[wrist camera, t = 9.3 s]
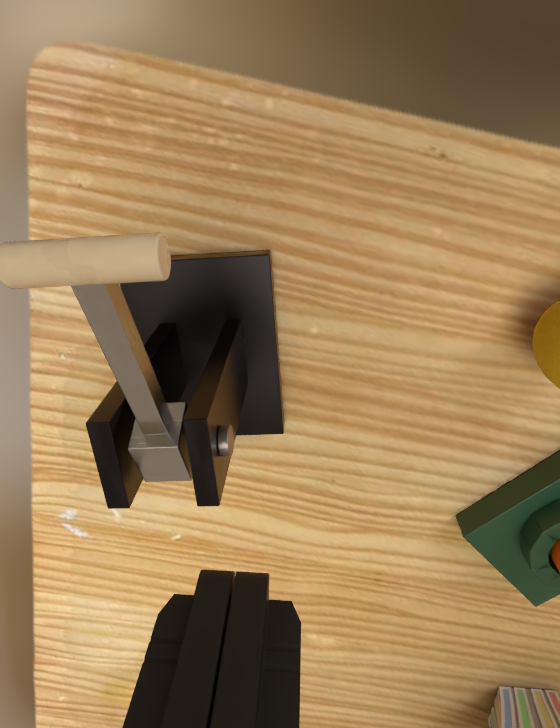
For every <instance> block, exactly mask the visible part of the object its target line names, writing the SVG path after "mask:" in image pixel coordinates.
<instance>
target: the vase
mask: <svg viewBox="0 0 560 728" xmlns="http://www.w3.org/2000/svg"><path fill="white" fill-rule="evenodd" d="M488 723H489V727H490V728H560V698H559V696H558V694H557V692H556V690H542V689H532V688H530V689H525V688H519V687H513V688H511V687H505V686H499V689H498V692H497V695H496V697H495V700H494V705H493V706H492V709H491V714H490V715H489V718H488Z"/></svg>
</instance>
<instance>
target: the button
mask: <svg viewBox="0 0 560 728" xmlns="http://www.w3.org/2000/svg"><path fill="white" fill-rule="evenodd" d="M551 556H552V560H553V562H554V564H555V565H556V567H557V569H558V571H559V573H560V539H558V540H557V541H556V543H555V544H554V546H553V548H552V552H551Z"/></svg>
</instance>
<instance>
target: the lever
mask: <svg viewBox="0 0 560 728" xmlns="http://www.w3.org/2000/svg"><path fill="white" fill-rule="evenodd" d="M170 269H171V258H170V250H169V246H168V242H167V240H166V238H165V236H164V235H163V234H162V233H146V234H130V235H114V236H98V237H81V238H65V239H49V240H33V241H17V242H5V243H3V244H1V245H0V280H1V281H2V283H3V284H4V285H5V286H7V287H9V288H11V289H23V288H42V287H60V286H71V287H72V289H73V291H74V293H75V295H76V297H77V299H78V301H79V303H80V305H81V307H82V309H83V312H84V314H85V316H86V318H87V320H88V322H89V324H90V326H91V328H92V330H93V332H94V334H95V336H96V338H97V340H98V342H99V344H100V346H101V348H102V351H103V353H104V355H105V357H106V359H107V361H108V363H109V365H110V367H111V369H112V371H113V373H114V375H115V377H116V379H117V381H118V383H119V385H120V388H121V390H122V392H123V394H124V396H125V398H126V400H127V402H128V404H129V406H130V408H131V410H132V412H133V414H134V416H135V420H134V424H133V428H132V432H131V435H130V439H129V443H128V447H127V449H128V451H129V453H130V455H131V457H132V458H133V460H134V462H135V464H136V466H137V468H138V469H139V471H140V473H141V475H142V477H143V478H144V480H145V482H160V481H191V480H192V472H191V466H190V460H189V455H188V449H187V443H186V437H185V431H184V425H183V418H184V416H185V414H186V411H187V409H188V406H187V403H186V402H173V403H166V400H165V398H164V395H163V393H162V390H161V388H160V385H159V383H158V380H157V378H156V375H155V373H154V370H153V368H152V365H151V363H150V360H149V358H148V355H147V353H146V350H145V348H144V345H143V343H142V340H141V338H140V335H139V332H138V330H137V327H136V325H135V322H134V320H133V317H132V315H131V312H130V310H129V307H128V305H127V302H126V300H125V297H124V295H123V292H122V290H121V287H120V285H119V283H133V282H151V281H165V280H167V279H168V277H169V275H170Z"/></svg>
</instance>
